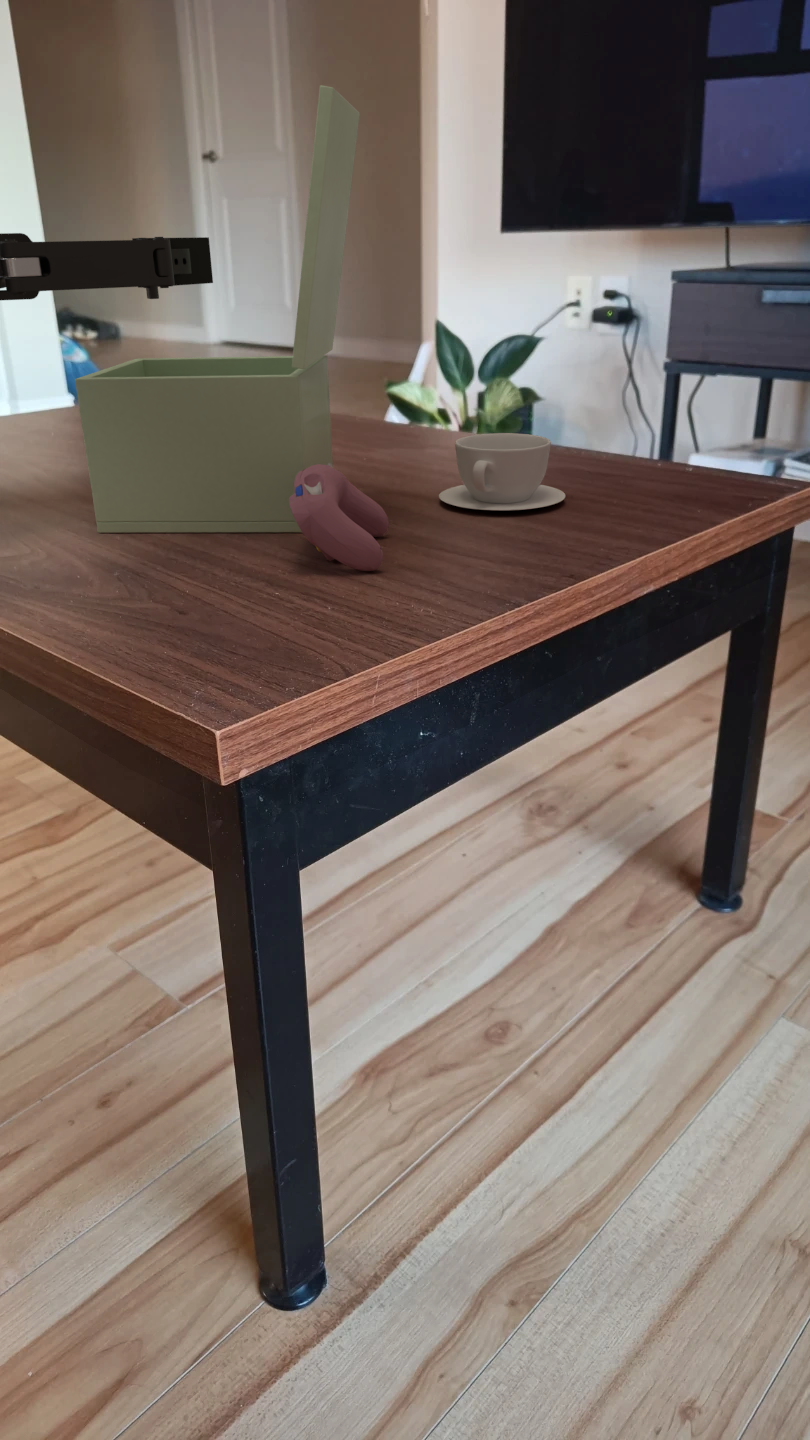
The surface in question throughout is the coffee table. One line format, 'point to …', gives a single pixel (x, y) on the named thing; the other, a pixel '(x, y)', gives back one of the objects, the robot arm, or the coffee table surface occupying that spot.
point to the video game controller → (338, 517)
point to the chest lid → (325, 226)
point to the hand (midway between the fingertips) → (125, 261)
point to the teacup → (502, 473)
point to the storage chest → (202, 442)
